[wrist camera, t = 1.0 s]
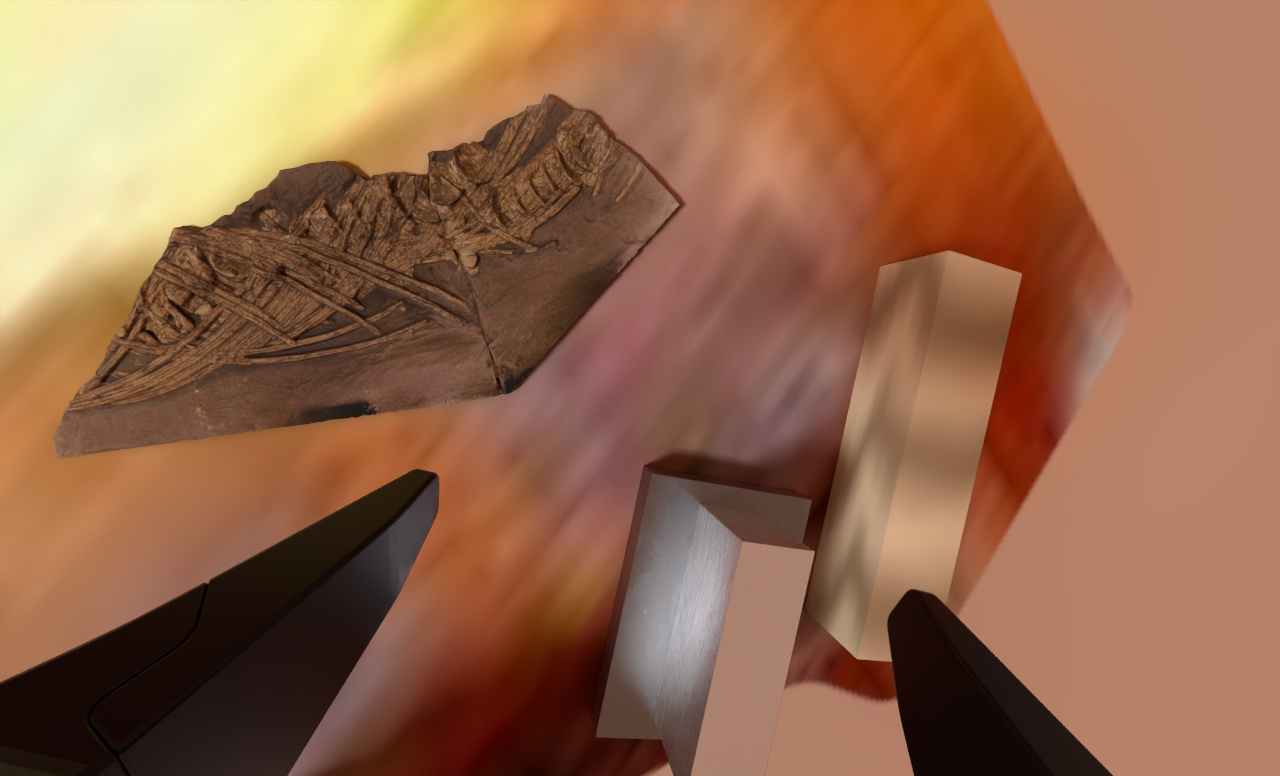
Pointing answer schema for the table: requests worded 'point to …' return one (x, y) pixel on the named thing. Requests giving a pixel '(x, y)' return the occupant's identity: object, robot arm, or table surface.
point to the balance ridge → (705, 621)
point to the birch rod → (910, 442)
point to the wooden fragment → (373, 288)
